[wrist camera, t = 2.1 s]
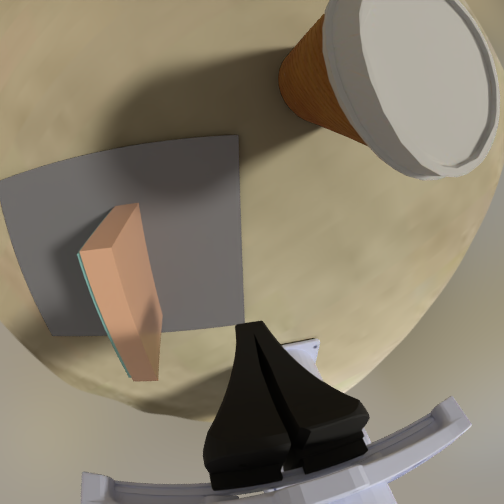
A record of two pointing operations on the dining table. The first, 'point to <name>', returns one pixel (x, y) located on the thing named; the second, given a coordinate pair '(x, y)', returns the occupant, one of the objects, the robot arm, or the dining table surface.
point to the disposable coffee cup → (399, 83)
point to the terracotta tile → (125, 290)
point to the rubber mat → (154, 226)
